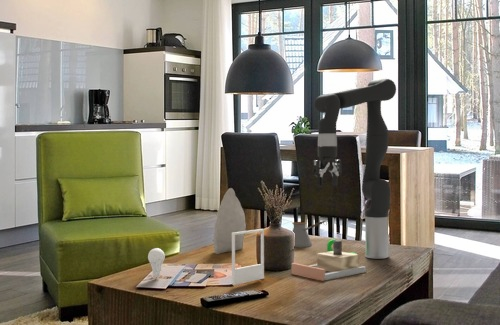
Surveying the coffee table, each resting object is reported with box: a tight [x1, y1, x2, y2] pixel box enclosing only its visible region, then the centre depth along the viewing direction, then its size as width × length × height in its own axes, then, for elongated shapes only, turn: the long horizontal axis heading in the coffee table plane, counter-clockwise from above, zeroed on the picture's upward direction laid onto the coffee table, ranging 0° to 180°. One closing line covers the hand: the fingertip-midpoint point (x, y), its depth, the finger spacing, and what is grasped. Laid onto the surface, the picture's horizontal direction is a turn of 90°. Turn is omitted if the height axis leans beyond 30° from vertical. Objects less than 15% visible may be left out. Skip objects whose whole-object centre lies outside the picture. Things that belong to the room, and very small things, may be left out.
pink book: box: [291, 262, 367, 282], centre depth 230 cm, size 24×16×4 cm
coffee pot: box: [292, 220, 328, 248], centre depth 278 cm, size 21×12×15 cm, turn 44°
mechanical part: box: [326, 238, 357, 254], centre depth 261 cm, size 12×6×8 cm, turn 94°
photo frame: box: [231, 228, 265, 286], centre depth 216 cm, size 15×1×18 cm, turn 133°
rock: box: [212, 187, 247, 255], centre depth 268 cm, size 19×9×30 cm, turn 136°
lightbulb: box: [147, 247, 166, 279], centre depth 222 cm, size 6×6×11 cm
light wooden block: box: [316, 239, 359, 272], centre depth 233 cm, size 10×12×11 cm
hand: (327, 186), depth 241 cm, fingers open, 8 cm apart
